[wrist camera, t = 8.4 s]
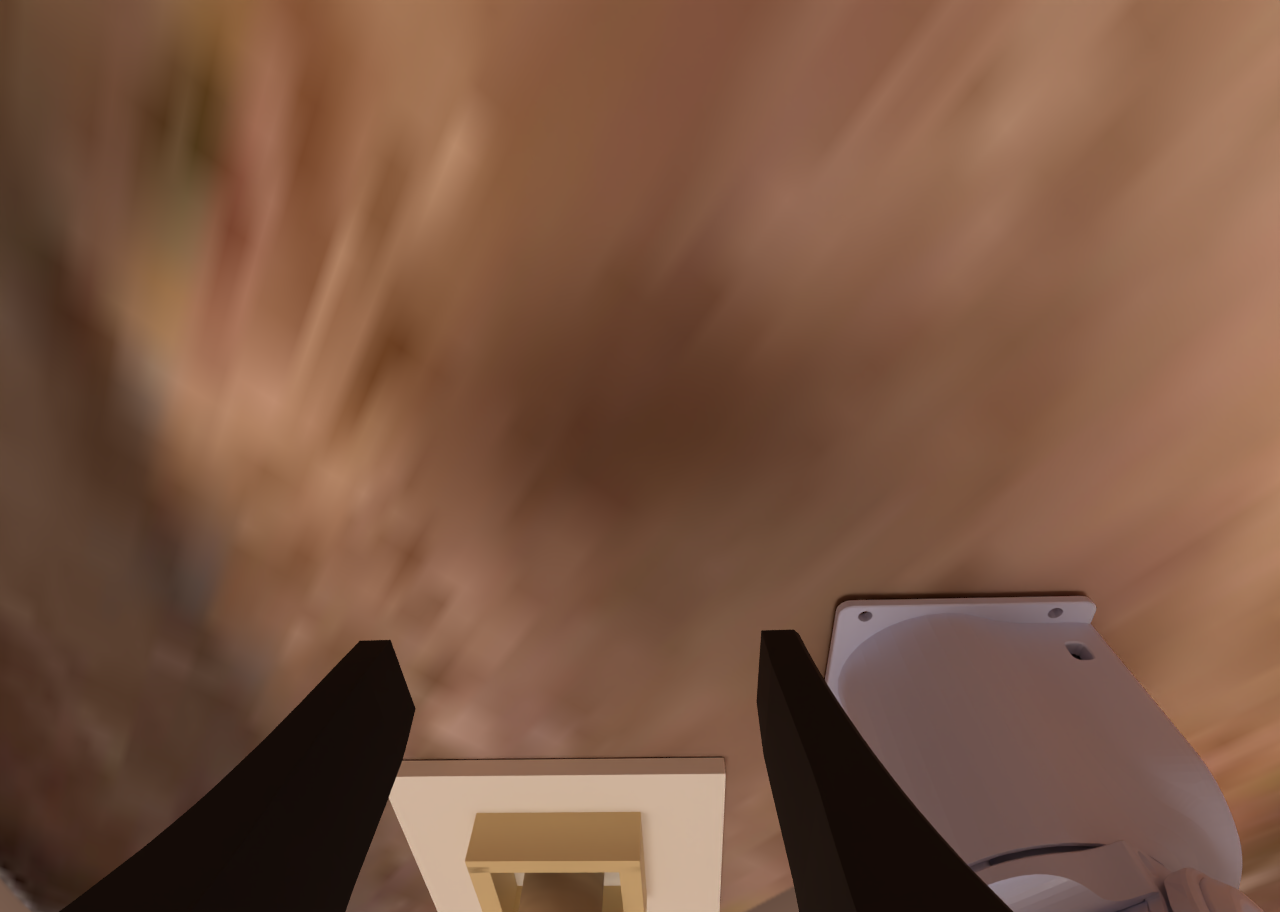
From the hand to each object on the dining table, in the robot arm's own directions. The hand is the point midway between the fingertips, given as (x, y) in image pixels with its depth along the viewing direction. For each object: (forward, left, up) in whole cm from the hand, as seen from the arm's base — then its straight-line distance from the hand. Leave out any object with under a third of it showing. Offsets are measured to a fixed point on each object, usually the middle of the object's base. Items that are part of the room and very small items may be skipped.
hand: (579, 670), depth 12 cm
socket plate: (+4, +24, -9) cm, 26 cm away
